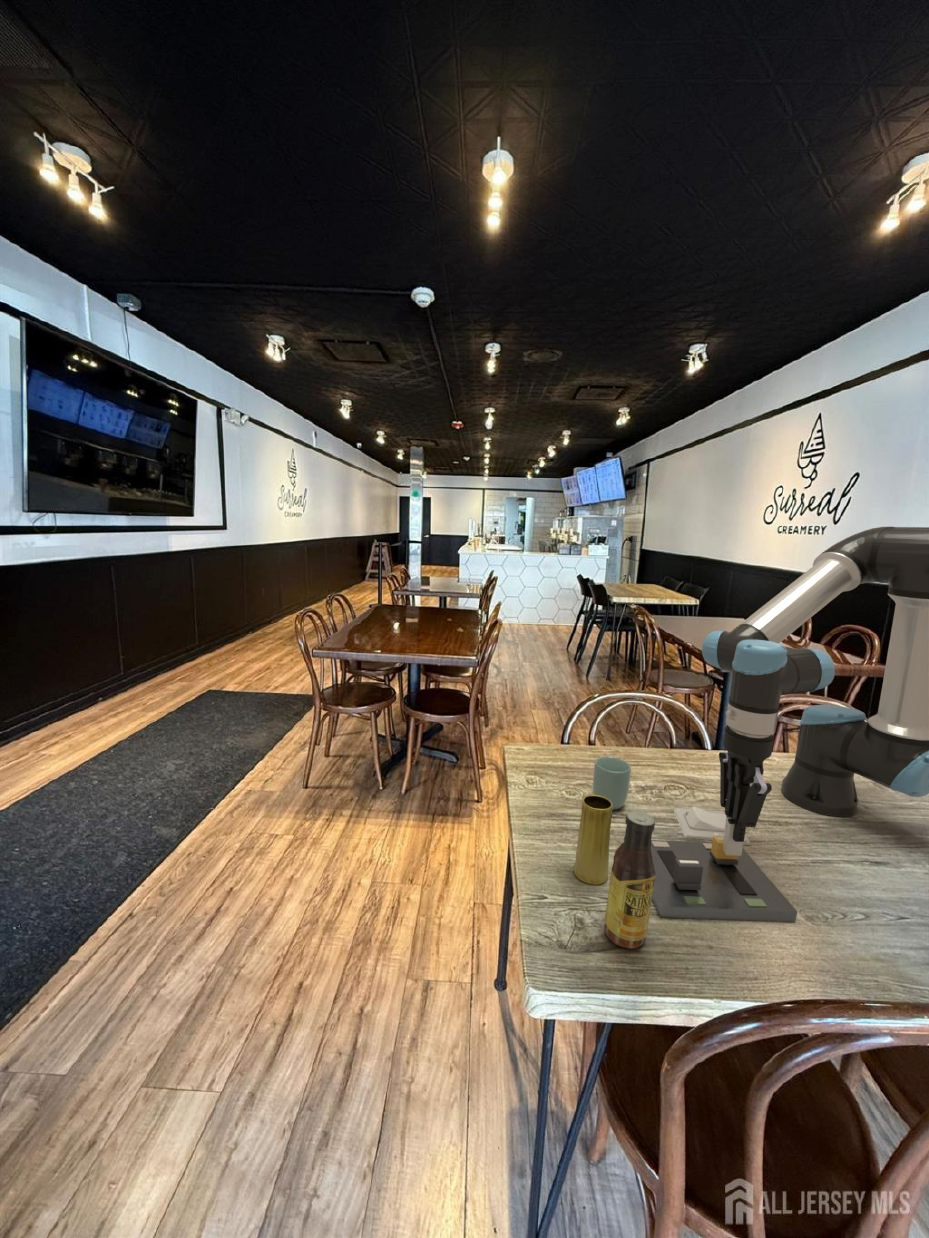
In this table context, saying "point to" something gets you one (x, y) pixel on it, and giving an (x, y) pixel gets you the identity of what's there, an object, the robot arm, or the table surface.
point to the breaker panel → (716, 887)
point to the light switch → (702, 823)
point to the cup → (612, 780)
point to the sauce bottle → (631, 884)
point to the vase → (594, 840)
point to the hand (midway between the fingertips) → (731, 852)
